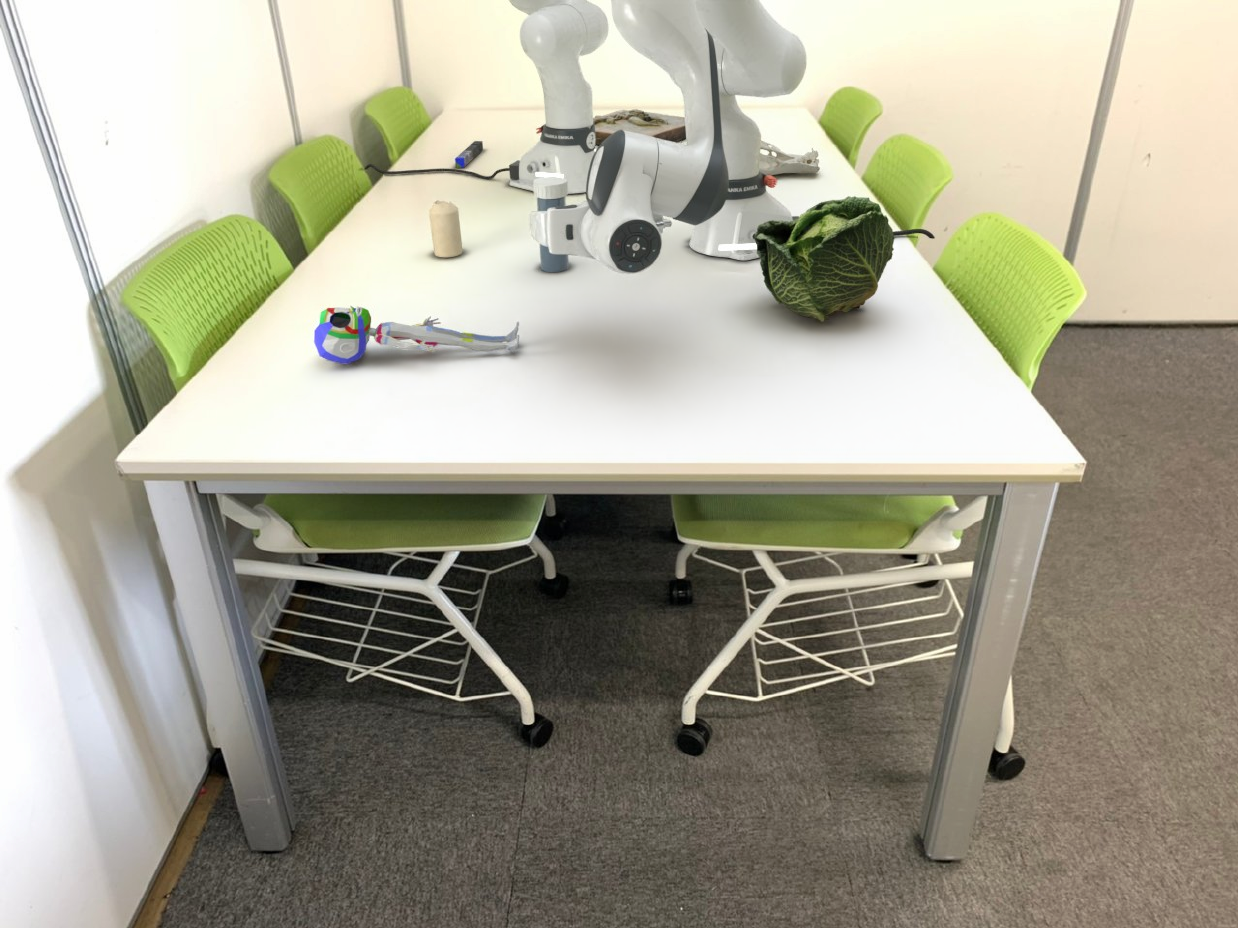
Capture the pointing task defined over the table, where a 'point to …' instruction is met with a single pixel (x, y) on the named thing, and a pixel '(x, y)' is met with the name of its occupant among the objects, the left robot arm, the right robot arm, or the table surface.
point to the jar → (547, 259)
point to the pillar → (468, 154)
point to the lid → (550, 187)
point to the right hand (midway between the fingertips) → (586, 216)
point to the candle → (445, 229)
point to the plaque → (640, 125)
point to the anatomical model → (787, 161)
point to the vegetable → (826, 256)
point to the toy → (392, 335)
